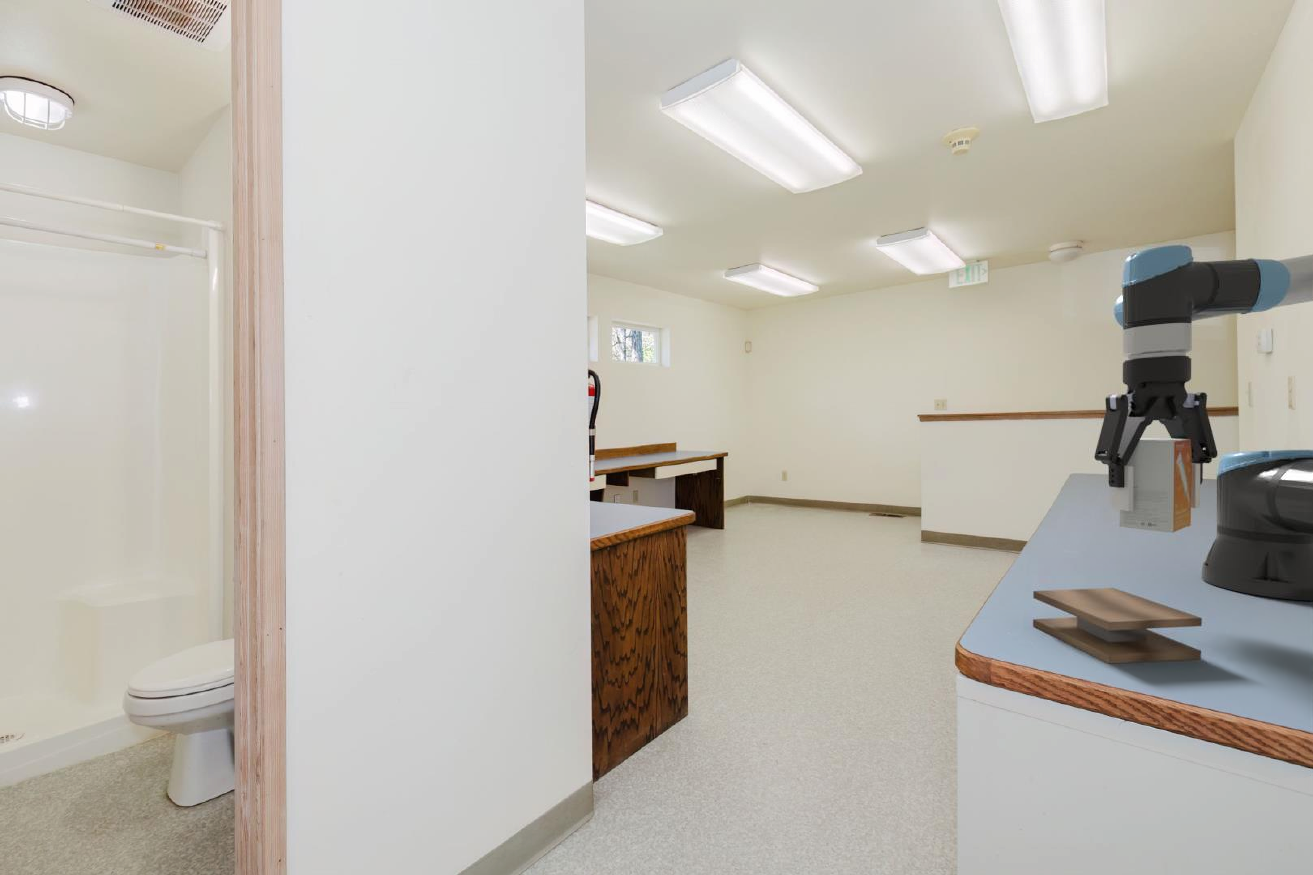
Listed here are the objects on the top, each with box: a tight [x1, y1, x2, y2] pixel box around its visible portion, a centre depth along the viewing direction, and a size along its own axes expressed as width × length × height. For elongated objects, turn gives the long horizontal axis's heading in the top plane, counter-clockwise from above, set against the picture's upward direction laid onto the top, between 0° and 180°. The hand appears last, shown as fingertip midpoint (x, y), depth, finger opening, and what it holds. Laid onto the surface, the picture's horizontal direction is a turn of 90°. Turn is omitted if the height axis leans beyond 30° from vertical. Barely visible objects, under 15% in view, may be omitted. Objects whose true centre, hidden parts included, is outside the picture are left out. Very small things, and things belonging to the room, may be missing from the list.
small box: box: [1119, 437, 1192, 533], centre depth 83 cm, size 8×6×13 cm
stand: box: [1032, 587, 1203, 664], centre depth 73 cm, size 12×12×5 cm
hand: (1155, 508), depth 83 cm, fingers closed on small box, 10 cm apart
